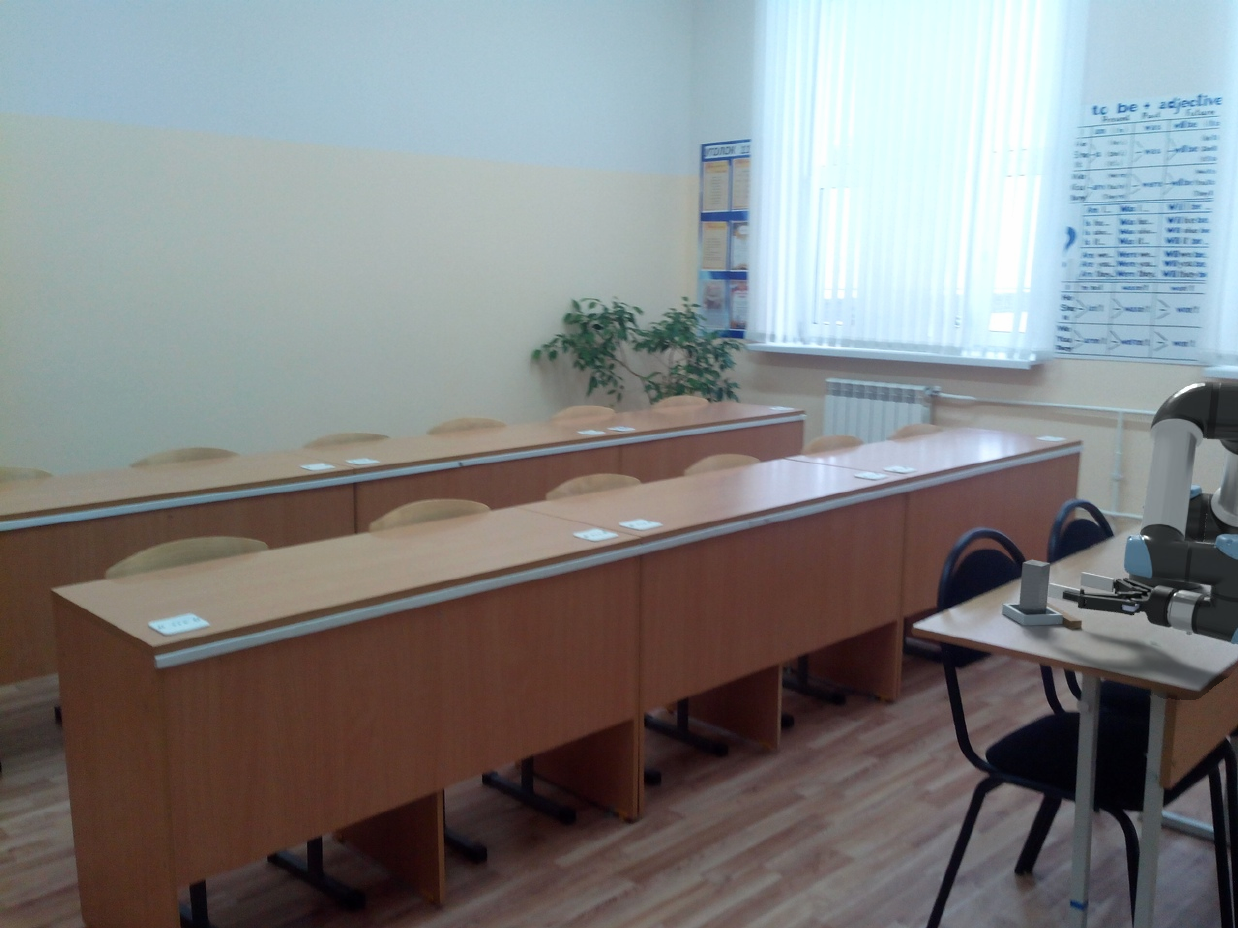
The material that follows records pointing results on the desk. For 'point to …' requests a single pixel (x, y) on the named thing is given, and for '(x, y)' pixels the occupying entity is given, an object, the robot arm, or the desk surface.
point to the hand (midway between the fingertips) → (1065, 584)
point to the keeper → (1032, 616)
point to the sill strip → (1067, 618)
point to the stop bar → (1034, 587)
